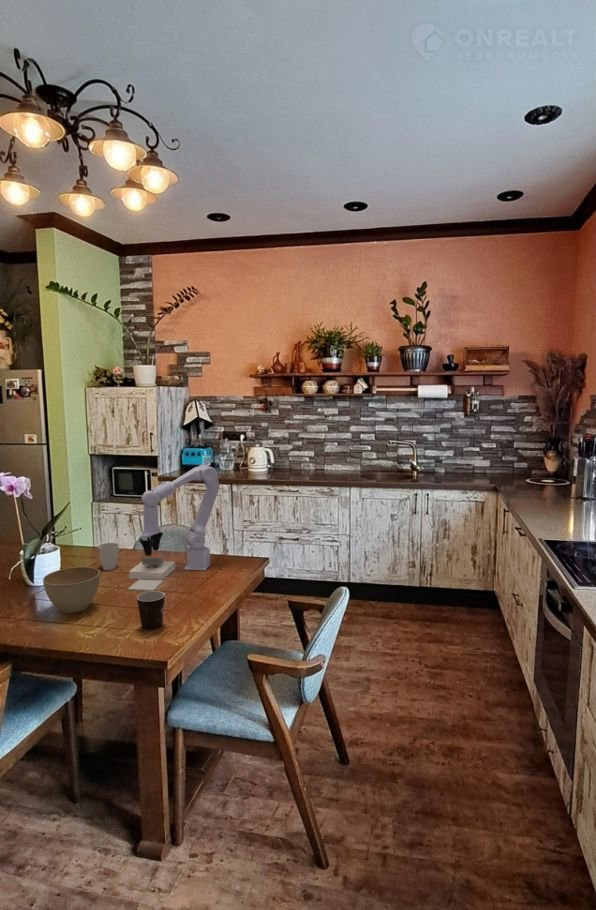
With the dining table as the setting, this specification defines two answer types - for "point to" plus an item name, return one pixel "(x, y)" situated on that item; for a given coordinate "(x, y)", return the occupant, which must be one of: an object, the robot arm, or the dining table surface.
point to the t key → (152, 561)
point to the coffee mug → (151, 609)
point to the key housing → (152, 571)
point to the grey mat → (145, 585)
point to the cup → (108, 555)
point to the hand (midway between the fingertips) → (152, 552)
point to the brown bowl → (72, 588)
